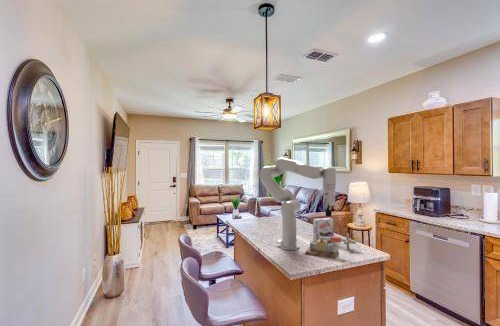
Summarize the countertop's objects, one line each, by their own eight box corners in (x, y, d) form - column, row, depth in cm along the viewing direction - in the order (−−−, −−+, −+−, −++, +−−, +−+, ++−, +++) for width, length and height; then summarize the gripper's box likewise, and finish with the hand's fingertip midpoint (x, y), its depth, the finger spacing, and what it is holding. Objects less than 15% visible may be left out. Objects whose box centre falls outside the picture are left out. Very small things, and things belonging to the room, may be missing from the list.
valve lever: (318, 240, 161) (318, 236, 161) (319, 239, 164) (319, 235, 164) (340, 242, 155) (340, 238, 155) (341, 241, 158) (340, 237, 158)
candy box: (316, 242, 183) (316, 219, 183) (313, 240, 189) (312, 218, 189) (334, 241, 186) (333, 219, 186) (330, 239, 191) (329, 217, 192)
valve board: (305, 254, 160) (305, 251, 160) (310, 248, 171) (310, 245, 171) (335, 258, 152) (335, 256, 152) (338, 252, 163) (338, 249, 163)
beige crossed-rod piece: (343, 245, 176) (342, 231, 177) (357, 248, 170) (357, 233, 170) (337, 249, 169) (337, 234, 169) (353, 252, 162) (353, 236, 162)
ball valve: (309, 251, 162) (309, 239, 162) (311, 248, 167) (311, 237, 167) (332, 254, 156) (332, 242, 156) (333, 251, 161) (333, 239, 161)
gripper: (331, 188, 151) (331, 219, 151) (338, 186, 163) (337, 215, 163) (319, 187, 155) (318, 217, 155) (326, 185, 167) (326, 213, 167)
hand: (328, 216), depth 159 cm, fingers closed
